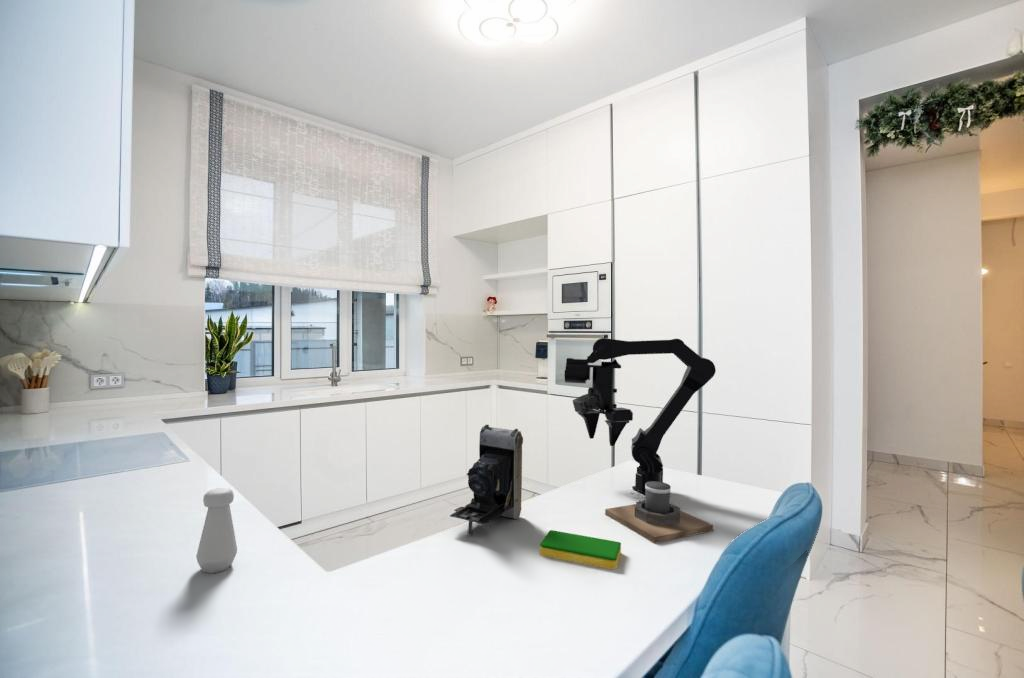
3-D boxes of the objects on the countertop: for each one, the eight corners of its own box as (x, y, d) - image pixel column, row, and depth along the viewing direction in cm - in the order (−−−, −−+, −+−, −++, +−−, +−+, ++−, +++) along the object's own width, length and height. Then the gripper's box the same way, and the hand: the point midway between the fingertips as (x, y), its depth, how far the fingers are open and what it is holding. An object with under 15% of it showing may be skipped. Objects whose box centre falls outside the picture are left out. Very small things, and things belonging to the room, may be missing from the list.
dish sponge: (549, 541, 93) (550, 529, 93) (620, 554, 88) (621, 541, 88) (539, 557, 86) (539, 543, 86) (615, 572, 81) (615, 558, 81)
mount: (659, 505, 113) (659, 491, 113) (712, 530, 99) (713, 515, 99) (605, 514, 107) (605, 500, 107) (654, 543, 92) (655, 527, 92)
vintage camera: (446, 533, 95) (448, 437, 94) (485, 507, 109) (487, 422, 108) (487, 545, 91) (489, 444, 90) (522, 516, 104) (525, 428, 103)
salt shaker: (193, 579, 75) (195, 497, 74) (198, 563, 80) (199, 487, 80) (235, 571, 77) (237, 493, 77) (238, 556, 82) (239, 482, 82)
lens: (657, 510, 106) (658, 480, 106) (675, 519, 101) (676, 487, 101) (639, 514, 104) (640, 482, 104) (656, 523, 99) (657, 490, 99)
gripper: (559, 381, 131) (557, 437, 131) (599, 389, 115) (597, 452, 115) (592, 380, 136) (590, 434, 136) (634, 388, 119) (633, 449, 119)
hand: (601, 442), depth 127 cm, fingers open, 9 cm apart
